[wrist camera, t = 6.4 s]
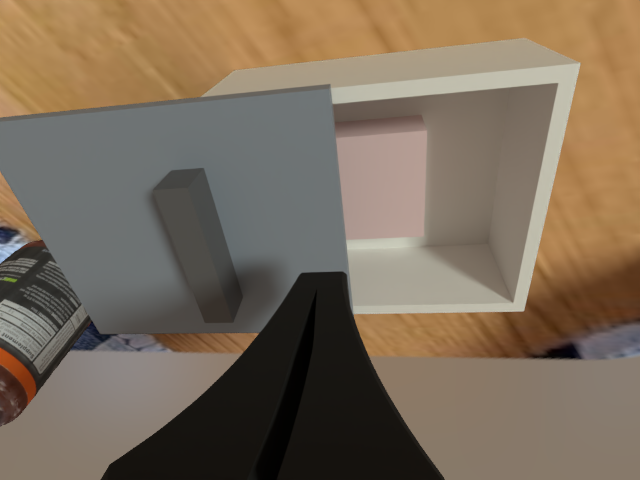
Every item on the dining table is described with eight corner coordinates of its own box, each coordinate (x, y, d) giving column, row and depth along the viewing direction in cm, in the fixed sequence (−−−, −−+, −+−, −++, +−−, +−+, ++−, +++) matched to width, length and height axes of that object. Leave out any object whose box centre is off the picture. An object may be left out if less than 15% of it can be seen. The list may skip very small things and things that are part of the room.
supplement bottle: (69, 315, 28) (-79, 488, 19) (0, 252, 25) (-213, 419, 16) (132, 294, 26) (3, 474, 17) (67, 222, 23) (-132, 392, 14)
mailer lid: (330, 83, 12) (324, 102, 11) (354, 322, 18) (353, 359, 16) (-15, 119, 14) (-68, 140, 12) (106, 324, 20) (82, 358, 18)
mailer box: (524, 38, 16) (580, 62, 12) (493, 244, 21) (524, 311, 17) (234, 70, 17) (193, 101, 13) (275, 253, 23) (255, 315, 19)
